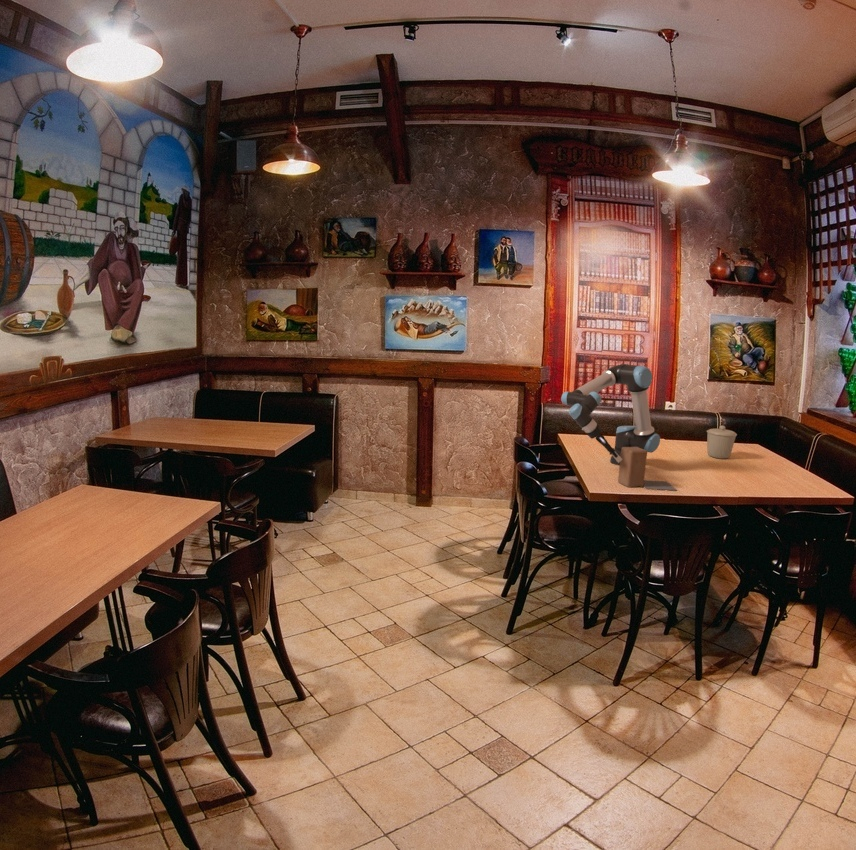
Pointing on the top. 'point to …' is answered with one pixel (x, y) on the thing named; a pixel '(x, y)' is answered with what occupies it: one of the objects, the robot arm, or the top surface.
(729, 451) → the canister
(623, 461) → the wooden block
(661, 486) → the mat
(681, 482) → the top surface
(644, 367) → the robot arm
